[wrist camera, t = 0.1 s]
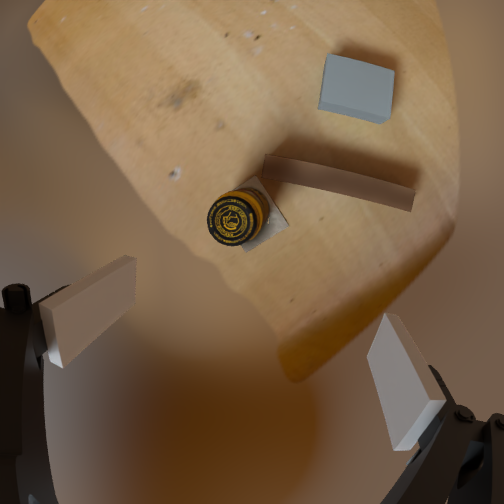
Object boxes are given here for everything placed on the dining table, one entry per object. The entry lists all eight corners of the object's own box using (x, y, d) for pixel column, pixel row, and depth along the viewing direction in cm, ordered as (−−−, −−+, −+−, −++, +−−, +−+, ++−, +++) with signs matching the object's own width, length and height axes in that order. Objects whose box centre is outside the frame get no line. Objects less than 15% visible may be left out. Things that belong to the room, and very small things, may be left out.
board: (268, 156, 39) (265, 154, 35) (405, 188, 37) (415, 190, 33) (264, 177, 40) (261, 177, 36) (400, 208, 38) (410, 212, 34)
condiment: (255, 174, 40) (239, 175, 28) (289, 225, 41) (286, 246, 30) (213, 203, 42) (183, 215, 30) (246, 252, 43) (228, 281, 32)
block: (324, 66, 34) (327, 53, 30) (384, 81, 34) (394, 71, 29) (317, 109, 36) (320, 101, 32) (379, 124, 36) (390, 118, 31)
